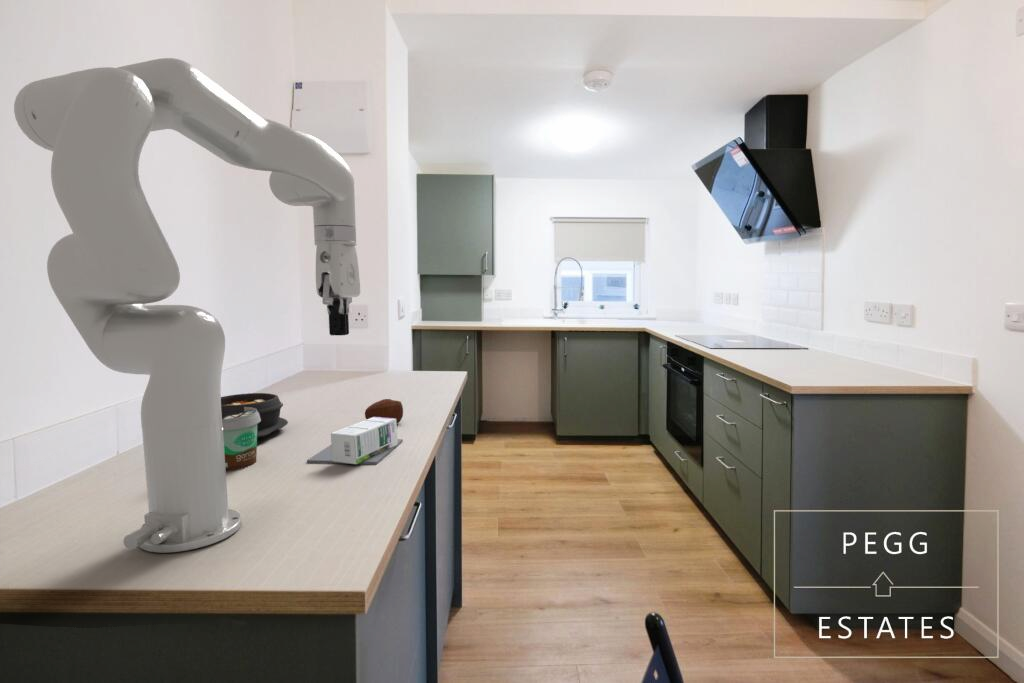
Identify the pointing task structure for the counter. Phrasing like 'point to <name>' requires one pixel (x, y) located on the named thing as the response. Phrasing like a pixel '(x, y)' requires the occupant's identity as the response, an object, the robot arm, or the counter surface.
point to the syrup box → (363, 440)
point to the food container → (240, 438)
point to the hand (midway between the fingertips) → (339, 334)
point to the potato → (385, 410)
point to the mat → (326, 457)
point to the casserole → (265, 406)
